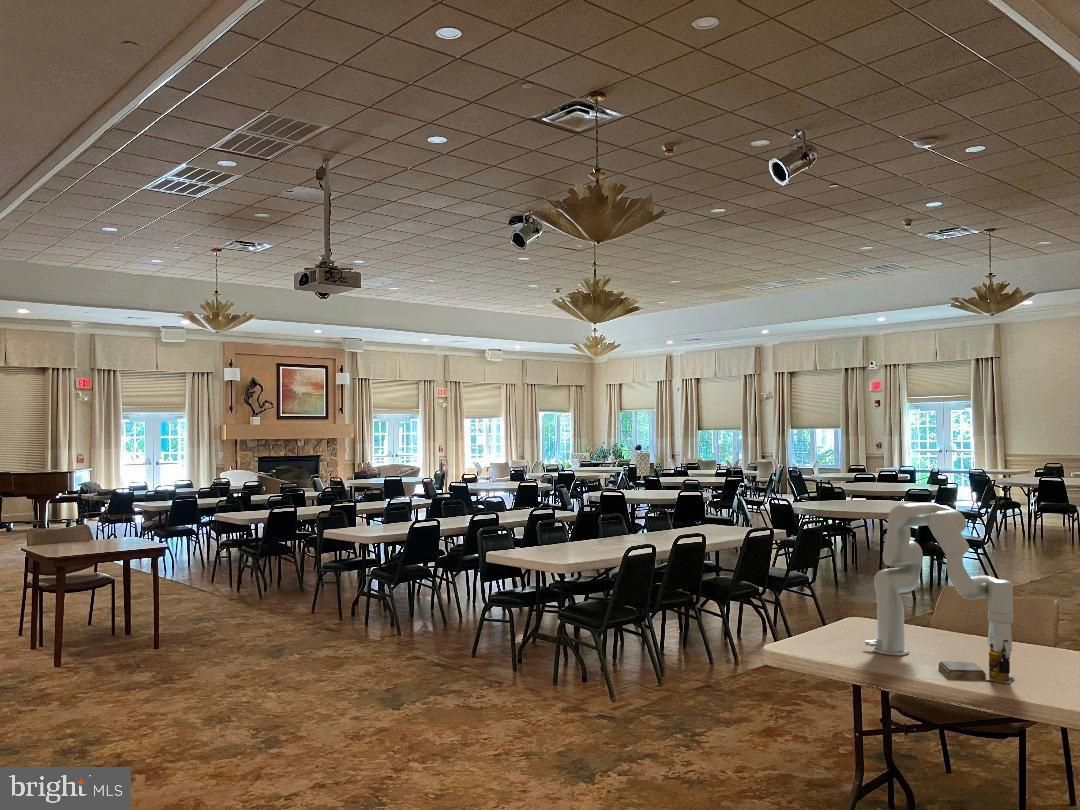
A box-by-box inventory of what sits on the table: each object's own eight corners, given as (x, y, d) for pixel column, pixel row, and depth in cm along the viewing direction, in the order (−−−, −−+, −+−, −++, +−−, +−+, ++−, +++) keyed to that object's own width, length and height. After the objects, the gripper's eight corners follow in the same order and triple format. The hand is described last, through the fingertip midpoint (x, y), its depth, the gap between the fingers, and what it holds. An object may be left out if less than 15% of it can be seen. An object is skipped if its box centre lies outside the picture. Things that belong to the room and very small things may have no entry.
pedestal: (948, 678, 309) (948, 669, 309) (938, 669, 321) (938, 660, 321) (985, 679, 307) (985, 670, 307) (974, 670, 319) (974, 661, 319)
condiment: (985, 679, 306) (985, 644, 306) (991, 674, 312) (991, 639, 312) (1008, 684, 301) (1008, 647, 301) (1014, 678, 308) (1014, 642, 308)
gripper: (980, 610, 315) (980, 662, 315) (997, 622, 298) (997, 676, 298) (1003, 611, 314) (1004, 663, 314) (1021, 622, 297) (1022, 678, 297)
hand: (1000, 669), depth 306 cm, fingers closed on condiment, 6 cm apart
